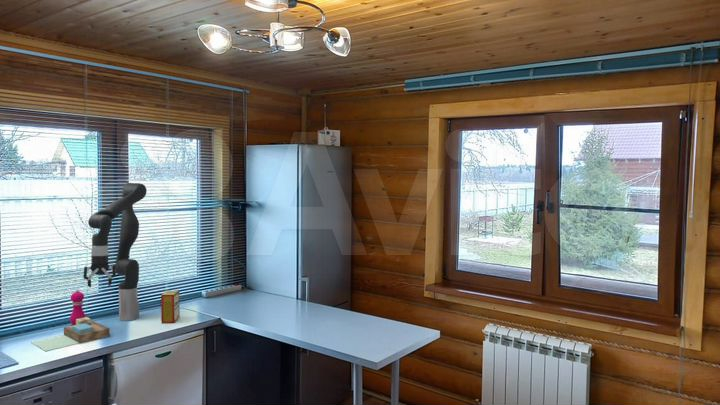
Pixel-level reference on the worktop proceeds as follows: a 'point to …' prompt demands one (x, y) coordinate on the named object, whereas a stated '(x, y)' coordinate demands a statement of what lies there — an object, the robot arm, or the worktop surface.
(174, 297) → the baking soda box
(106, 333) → the brown shallow rectangular piece
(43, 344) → the mat
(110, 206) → the robot arm
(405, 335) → the worktop surface
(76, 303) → the pepper mill
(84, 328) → the teal sponge
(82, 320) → the block
